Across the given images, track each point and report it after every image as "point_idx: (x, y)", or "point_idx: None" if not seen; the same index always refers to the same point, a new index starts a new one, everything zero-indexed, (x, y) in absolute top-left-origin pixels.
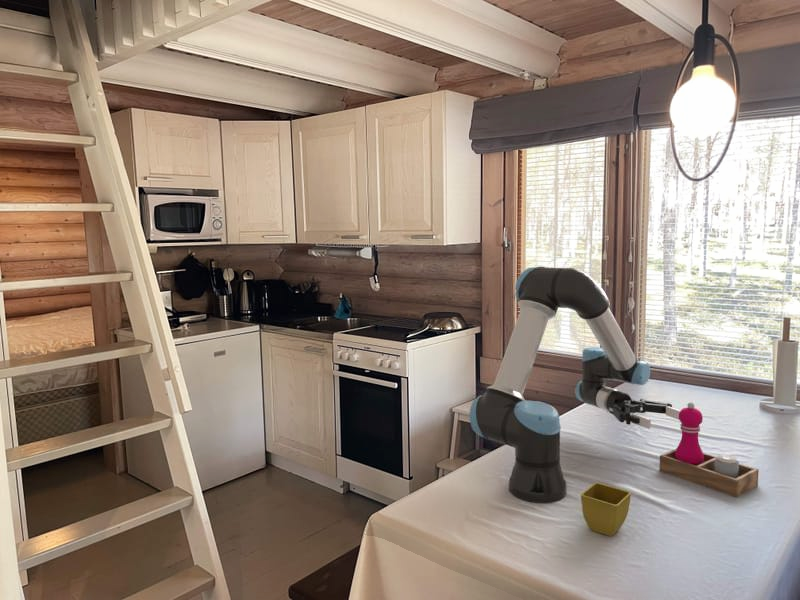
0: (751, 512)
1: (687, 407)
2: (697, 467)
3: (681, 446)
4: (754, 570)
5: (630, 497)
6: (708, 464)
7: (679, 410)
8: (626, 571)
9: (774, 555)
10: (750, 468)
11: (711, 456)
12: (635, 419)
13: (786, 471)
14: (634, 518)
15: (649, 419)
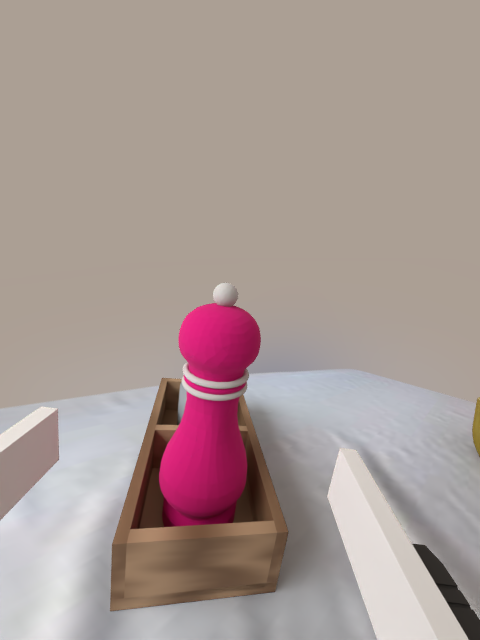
0: (246, 397)
1: (219, 310)
2: (252, 427)
3: (238, 443)
4: (336, 373)
5: (476, 404)
6: None
7: (9, 435)
8: (471, 413)
9: (301, 372)
10: (166, 384)
11: (153, 437)
12: (438, 567)
13: (15, 412)
14: (445, 464)
15: (349, 449)
